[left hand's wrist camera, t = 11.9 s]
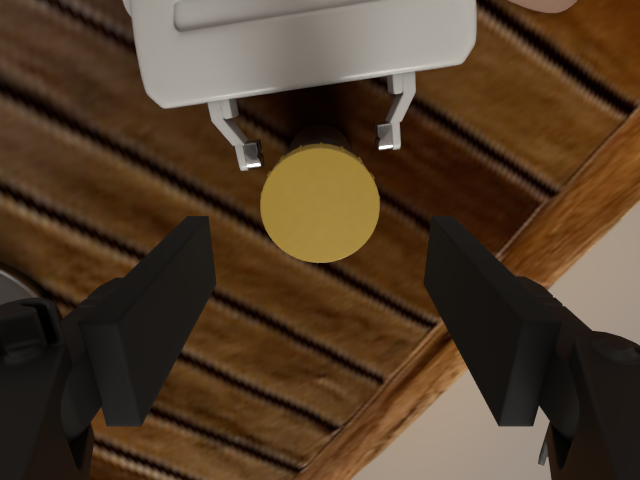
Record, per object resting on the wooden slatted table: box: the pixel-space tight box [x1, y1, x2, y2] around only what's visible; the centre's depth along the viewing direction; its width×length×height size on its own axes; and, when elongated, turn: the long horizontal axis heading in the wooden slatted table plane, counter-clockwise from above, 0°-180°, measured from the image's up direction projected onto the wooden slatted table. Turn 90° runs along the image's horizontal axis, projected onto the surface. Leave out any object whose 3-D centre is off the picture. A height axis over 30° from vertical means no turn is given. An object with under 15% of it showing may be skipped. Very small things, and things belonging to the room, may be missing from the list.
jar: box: [285, 124, 355, 155], centre depth 26 cm, size 5×5×15 cm
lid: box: [260, 142, 380, 263], centre depth 19 cm, size 6×6×2 cm
